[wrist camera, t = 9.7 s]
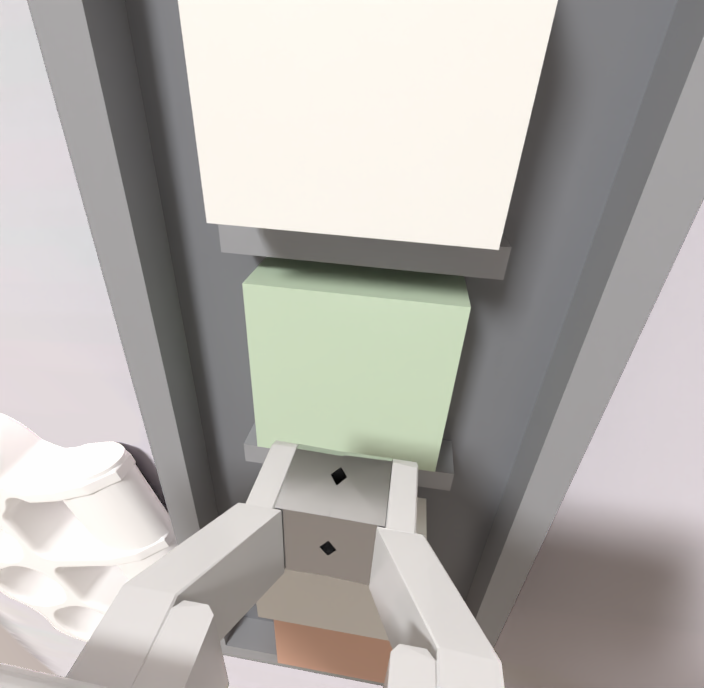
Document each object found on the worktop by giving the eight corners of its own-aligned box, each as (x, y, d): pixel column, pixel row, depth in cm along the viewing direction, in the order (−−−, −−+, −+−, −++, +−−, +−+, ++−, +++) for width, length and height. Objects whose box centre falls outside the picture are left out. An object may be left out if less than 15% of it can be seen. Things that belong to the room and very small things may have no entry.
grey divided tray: (738, -180, 9) (973, -376, 5) (460, 612, 26) (467, 704, 22) (115, -178, 10) (-65, -333, 6) (237, 573, 27) (207, 653, 23)
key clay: (403, 580, 20) (401, 626, 18) (391, 639, 23) (388, 684, 21) (284, 560, 20) (272, 603, 18) (288, 620, 23) (277, 662, 21)
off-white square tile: (426, 498, 14) (426, 553, 13) (406, 589, 17) (405, 643, 16) (266, 474, 15) (246, 524, 13) (273, 566, 18) (258, 616, 16)
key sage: (464, 275, 12) (471, 307, 10) (433, 427, 15) (434, 471, 13) (267, 255, 12) (242, 283, 11) (275, 406, 15) (257, 446, 14)
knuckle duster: (242, 595, 29) (71, 594, 33) (108, 384, 21) (-104, 413, 24) (222, 650, 26) (37, 642, 30) (57, 431, 18) (-174, 457, 21)
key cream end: (562, -144, 7) (612, -224, 5) (485, 220, 9) (498, 250, 8) (214, -146, 7) (149, -218, 5) (243, 200, 10) (207, 223, 8)
